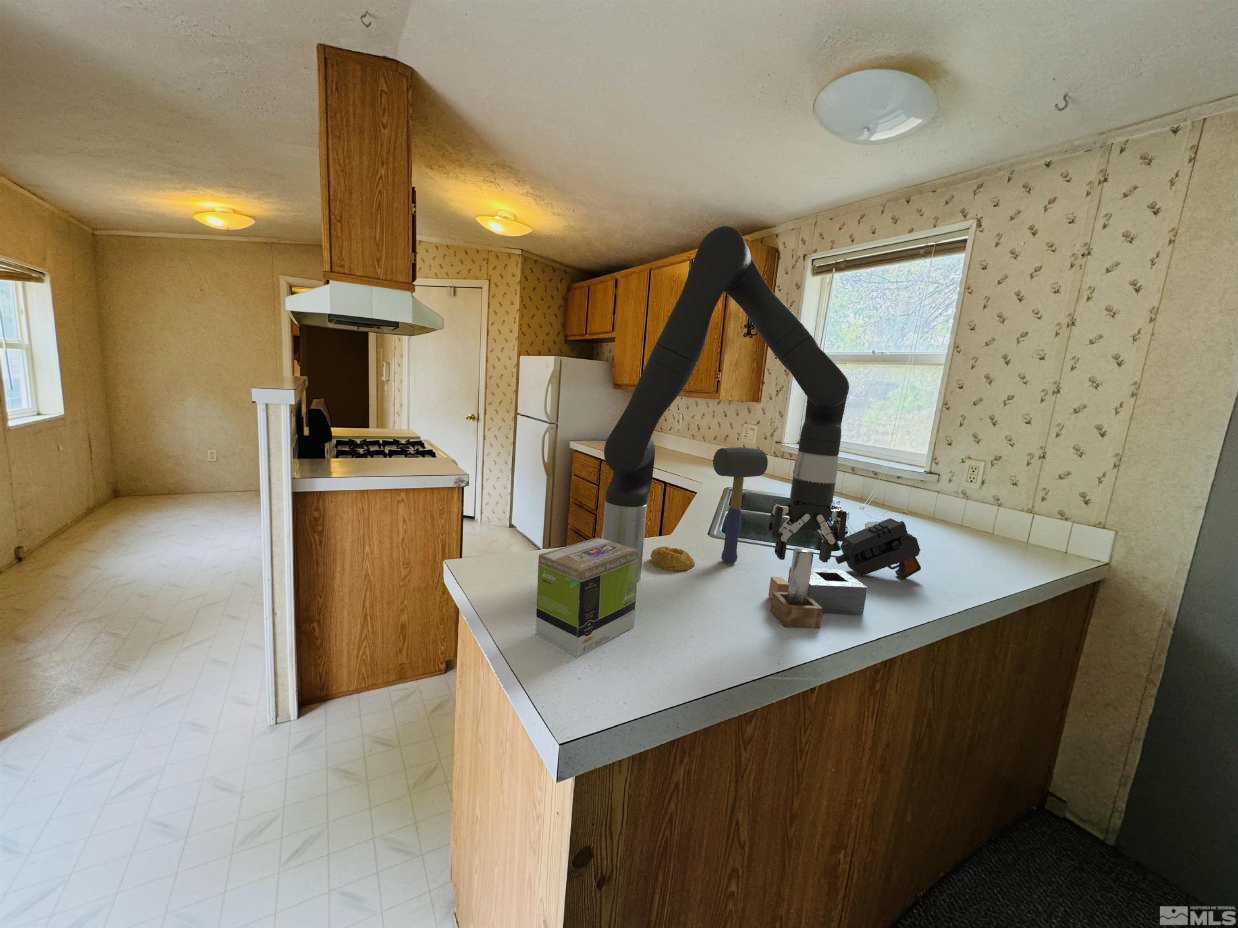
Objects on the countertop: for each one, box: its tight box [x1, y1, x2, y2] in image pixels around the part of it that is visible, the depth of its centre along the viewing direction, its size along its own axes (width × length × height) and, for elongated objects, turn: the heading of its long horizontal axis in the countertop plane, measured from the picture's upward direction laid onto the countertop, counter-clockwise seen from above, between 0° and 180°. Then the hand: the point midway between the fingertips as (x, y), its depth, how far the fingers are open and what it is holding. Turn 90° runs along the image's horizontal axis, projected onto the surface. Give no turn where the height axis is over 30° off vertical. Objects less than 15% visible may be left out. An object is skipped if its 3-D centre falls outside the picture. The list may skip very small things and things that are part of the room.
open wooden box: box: [769, 592, 823, 629], centre depth 96 cm, size 7×7×4 cm
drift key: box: [767, 576, 789, 600], centre depth 104 cm, size 9×4×4 cm, turn 95°
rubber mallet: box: [712, 446, 769, 566], centre depth 123 cm, size 12×8×30 cm, turn 113°
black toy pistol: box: [834, 517, 922, 580], centre depth 125 cm, size 6×19×15 cm, turn 89°
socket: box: [787, 566, 868, 616], centre depth 105 cm, size 12×10×6 cm
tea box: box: [535, 536, 639, 658], centre depth 84 cm, size 15×10×15 cm, turn 141°
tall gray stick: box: [787, 547, 815, 606], centre depth 95 cm, size 4×4×14 cm
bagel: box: [649, 546, 696, 572], centre depth 121 cm, size 10×11×5 cm
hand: (801, 559), depth 95 cm, fingers open, 8 cm apart
